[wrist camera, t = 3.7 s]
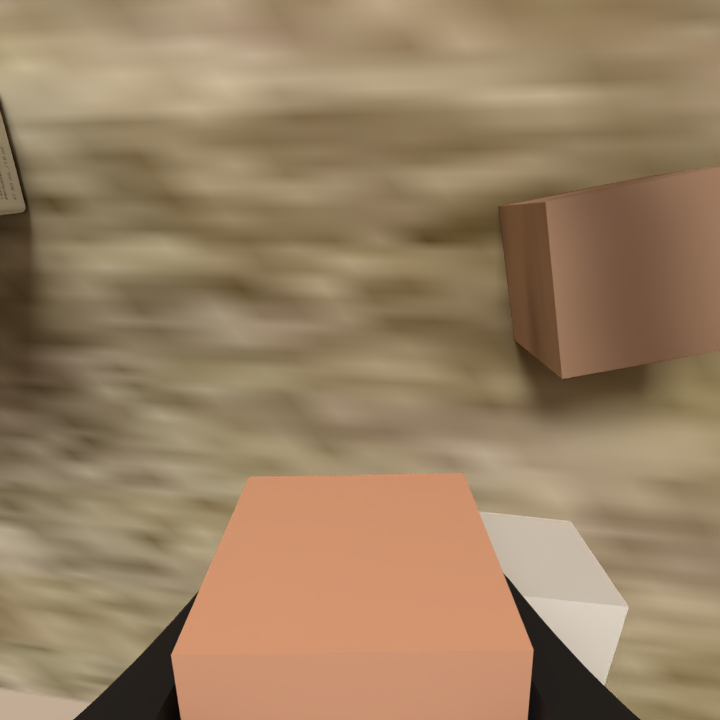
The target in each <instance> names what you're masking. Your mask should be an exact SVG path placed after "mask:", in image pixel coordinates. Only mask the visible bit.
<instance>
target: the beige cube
mask: <svg viewBox="0 0 720 720" xmlns="http://www.w3.org/2000/svg"><path fill="white" fill-rule="evenodd" d="M479 513H480V516H481V518H482V521H483V523H484V526H485V528H486V531H487V534H488V536H489V539H490V541H491V544H492V546H493V549H494V551H495V554H496V556H497V559H498V561H499V564H500V566H501V569H502V571H503V573H504V574H505V575H506V576H507V577H508V578H509V579H510V581H511V582H512V583H513V584H514V586H515V587H516V588H517V589H518V591H519V592H520V593H521V594H522V596H523V597H524V598H525V599H526V600H527V602H528V603H529V604H530V605H531V607H532V608H533V609H534V610H535V611H536V612H537V614H538V615H539V616H540V617H541V618H542V620H543V621H544V622H545V623H546V624H547V625H548V626H549V628H550V629H551V630H552V631H553V632H554V633H555V634H556V635H557V637H558V638H559V639H560V640H561V641H562V642H563V643H564V644H565V645H566V646H567V648H568V649H569V650H570V651H571V652H572V653H573V654H574V655H575V656H576V657H577V658H578V660H579V661H580V662H581V663H582V664H583V665H584V666H585V667H586V668H587V669H588V670H589V671H590V672H591V673H592V674H593V675H594V676H595V677H596V678H597V679H598V680H599V681H600V682H601V683H602V684H603V685H605V682H606V679H607V675H608V672H609V669H610V666H611V662H612V659H613V656H614V653H615V650H616V646H617V643H618V640H619V637H620V634H621V630H622V627H623V624H624V621H625V617H626V614H627V611H628V608H629V607H628V605H627V604H626V602H625V601H624V599H623V598H622V596H621V595H620V593H619V592H618V590H617V589H616V587H615V586H614V584H613V583H612V581H611V580H610V579H609V577H608V576H607V574H606V573H605V571H604V570H603V568H602V567H601V565H600V564H599V562H598V561H597V559H596V558H595V556H594V555H593V553H592V552H591V550H590V549H589V548H588V546H587V545H586V543H585V542H584V540H583V539H582V537H581V536H580V534H579V533H578V531H577V530H576V528H575V527H574V525H573V524H572V522H571V521H565V520H555V519H546V518H536V517H527V516H517V515H508V514H499V513H489V512H480V511H479Z"/></svg>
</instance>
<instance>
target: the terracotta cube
mask: <svg viewBox="0 0 720 720" xmlns="http://www.w3.org/2000/svg"><path fill="white" fill-rule="evenodd" d="M533 651H534V650H533V647H532V645H531V642H530V639H529V637H528V634H527V632H526V629H525V627H524V624H523V622H522V619H521V617H520V614H519V612H518V609H517V607H516V604H515V602H514V599H513V597H512V594H511V592H510V589H509V587H508V584H507V581H506V579H505V576H504V574H503V571H502V569H501V566H500V564H499V561H498V559H497V556H496V554H495V551H494V549H493V546H492V544H491V541H490V539H489V536H488V534H487V531H486V528H485V526H484V523H483V521H482V518H481V516H480V513H479V511H478V508H477V506H476V503H475V501H474V498H473V496H472V493H471V491H470V488H469V486H468V483H467V481H466V478H465V476H464V473H437V474H383V475H329V476H276V477H249V478H248V480H247V483H246V485H245V487H244V489H243V492H242V494H241V496H240V499H239V501H238V503H237V505H236V508H235V510H234V512H233V515H232V517H231V519H230V521H229V524H228V526H227V528H226V531H225V533H224V535H223V537H222V540H221V542H220V544H219V547H218V549H217V551H216V554H215V556H214V558H213V560H212V563H211V565H210V567H209V570H208V572H207V574H206V576H205V579H204V581H203V583H202V586H201V588H200V590H199V592H198V595H197V597H196V599H195V602H194V604H193V606H192V608H191V611H190V613H189V615H188V618H187V620H186V622H185V624H184V627H183V629H182V631H181V634H180V636H179V638H178V640H177V643H176V645H175V647H174V650H173V652H172V654H171V658H172V665H173V671H174V678H175V684H176V691H177V697H178V704H179V710H180V717H181V720H528V709H529V697H530V686H531V674H532V663H533Z"/></svg>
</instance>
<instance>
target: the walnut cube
mask: <svg viewBox="0 0 720 720" xmlns="http://www.w3.org/2000/svg"><path fill="white" fill-rule="evenodd" d="M498 207H499V216H500V224H501V232H502V241H503V249H504V258H505V266H506V275H507V283H508V292H509V300H510V308H511V317H512V325H513V334H514V340H515V341H516V342H517V343H519V344H520V345H521V346H522V347H524V348H525V349H526V350H527V351H528V352H530V353H531V354H532V355H533V356H535V357H536V358H537V359H538V360H539V361H541V362H542V363H543V364H544V365H546V366H547V367H548V368H549V369H550V370H552V371H553V372H554V373H555V374H557V375H558V376H559V377H560V378H561V379H565V378H571V377H577V376H582V375H588V374H593V373H599V372H604V371H610V370H616V369H621V368H627V367H632V366H638V365H643V364H649V363H654V362H660V361H666V360H671V359H677V358H682V357H688V356H693V355H699V354H705V353H710V352H716V351H720V166H715V167H708V168H702V169H695V170H688V171H681V172H674V173H668V174H661V175H654V176H647V177H641V178H635V179H631V180H626V181H621V182H616V183H611V184H606V185H601V186H596V187H591V188H586V189H581V190H576V191H571V192H566V193H561V194H556V195H552V196H547V197H542V198H537V199H532V200H527V201H522V202H517V203H512V204H507V205H502V206H498Z"/></svg>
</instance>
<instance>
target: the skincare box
mask: <svg viewBox="0 0 720 720" xmlns="http://www.w3.org/2000/svg"><path fill="white" fill-rule="evenodd" d="M24 211H25V202H24V199H23V195H22V191H21V187H20V183H19V179H18V175H17V171H16V168H15V164H14V160H13V156H12V152H11V149H10V145H9V141H8V137H7V134H6V130H5V127H4V123H3V120H2V116H1V112H0V215H6V214H14V213H21V212H24Z"/></svg>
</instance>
